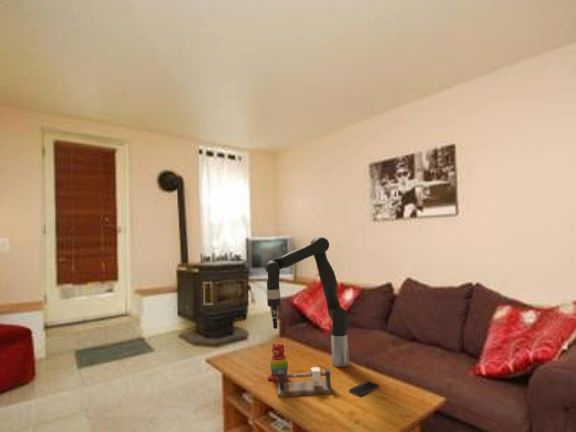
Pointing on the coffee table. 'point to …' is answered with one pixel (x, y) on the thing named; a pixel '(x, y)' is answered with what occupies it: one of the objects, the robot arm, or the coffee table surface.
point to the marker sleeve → (315, 374)
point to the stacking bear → (278, 362)
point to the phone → (364, 388)
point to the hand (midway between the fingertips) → (275, 326)
